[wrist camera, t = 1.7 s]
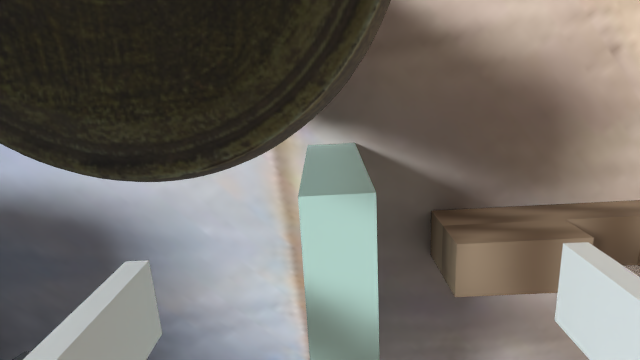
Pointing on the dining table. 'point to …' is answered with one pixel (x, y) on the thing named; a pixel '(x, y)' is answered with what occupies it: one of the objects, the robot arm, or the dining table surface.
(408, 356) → the dining table surface
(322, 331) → the plate
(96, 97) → the container
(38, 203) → the dining table surface
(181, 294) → the dining table surface
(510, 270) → the slotted rail
